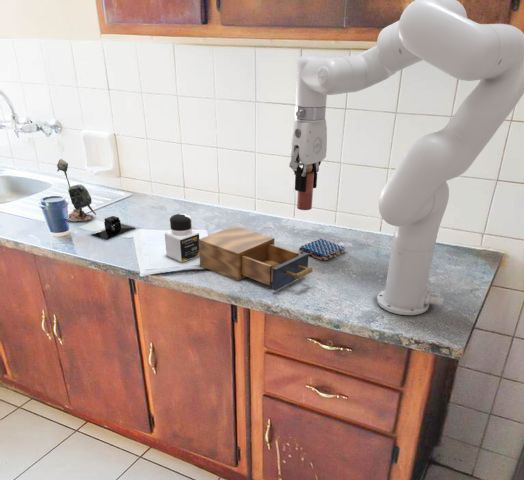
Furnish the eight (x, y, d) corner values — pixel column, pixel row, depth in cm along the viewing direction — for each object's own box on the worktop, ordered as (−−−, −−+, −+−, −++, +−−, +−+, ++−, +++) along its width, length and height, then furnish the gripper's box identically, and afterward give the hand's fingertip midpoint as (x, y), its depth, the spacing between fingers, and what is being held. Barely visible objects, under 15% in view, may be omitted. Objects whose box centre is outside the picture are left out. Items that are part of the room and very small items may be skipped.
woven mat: (346, 252, 154) (347, 246, 153) (324, 262, 148) (324, 256, 147) (320, 243, 161) (320, 237, 159) (297, 252, 154) (297, 245, 153)
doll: (314, 207, 139) (317, 160, 132) (306, 211, 136) (309, 163, 130) (302, 204, 141) (305, 158, 134) (293, 208, 138) (296, 161, 132)
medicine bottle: (182, 263, 146) (178, 222, 140) (166, 256, 151) (162, 215, 144) (200, 255, 151) (198, 215, 144) (184, 249, 155) (182, 210, 148)
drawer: (320, 278, 137) (322, 258, 134) (288, 296, 128) (289, 274, 125) (268, 260, 146) (269, 240, 143) (236, 275, 138) (235, 255, 135)
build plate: (106, 240, 160) (104, 226, 158) (90, 235, 164) (88, 221, 161) (135, 228, 169) (133, 214, 167) (119, 224, 172) (117, 210, 170)
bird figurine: (86, 225, 171) (75, 163, 160) (60, 220, 175) (47, 159, 164) (102, 218, 177) (92, 157, 166) (76, 213, 181) (65, 153, 170)
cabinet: (273, 264, 147) (274, 238, 142) (238, 281, 137) (238, 253, 133) (235, 250, 155) (235, 225, 150) (199, 265, 145) (198, 239, 141)
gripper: (302, 119, 118) (298, 199, 129) (341, 111, 129) (334, 185, 139) (277, 116, 122) (274, 193, 132) (316, 108, 133) (311, 180, 143)
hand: (305, 188), depth 136 cm, fingers closed on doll, 4 cm apart
